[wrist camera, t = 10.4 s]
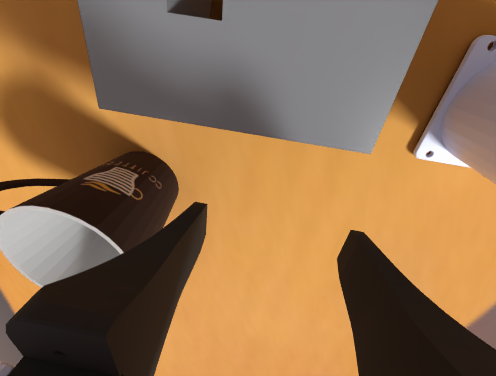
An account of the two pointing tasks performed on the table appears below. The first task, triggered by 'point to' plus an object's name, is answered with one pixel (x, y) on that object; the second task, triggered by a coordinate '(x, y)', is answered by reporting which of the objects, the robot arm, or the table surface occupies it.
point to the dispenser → (257, 63)
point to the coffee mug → (87, 217)
